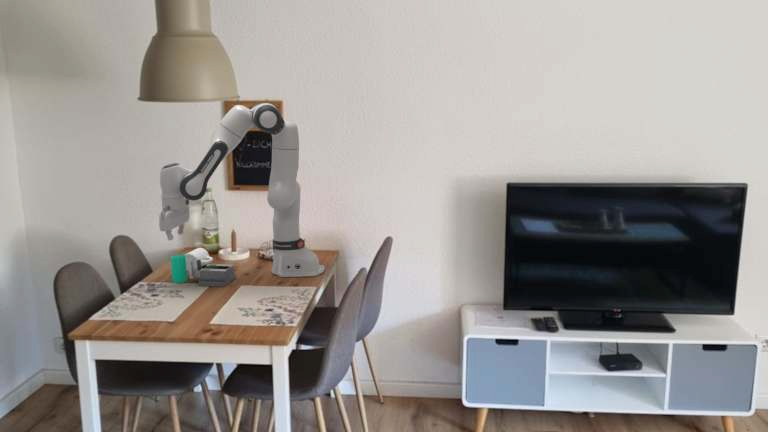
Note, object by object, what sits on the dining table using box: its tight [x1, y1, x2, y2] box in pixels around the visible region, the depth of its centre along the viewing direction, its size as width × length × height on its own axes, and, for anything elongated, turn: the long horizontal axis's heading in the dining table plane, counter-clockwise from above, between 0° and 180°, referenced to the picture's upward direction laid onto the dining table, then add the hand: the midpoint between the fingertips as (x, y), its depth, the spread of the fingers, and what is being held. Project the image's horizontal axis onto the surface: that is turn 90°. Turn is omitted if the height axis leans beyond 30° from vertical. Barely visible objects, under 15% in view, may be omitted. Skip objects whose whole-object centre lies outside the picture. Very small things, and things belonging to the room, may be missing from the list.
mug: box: [184, 247, 214, 272], centre depth 325 cm, size 12×10×8 cm
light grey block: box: [188, 258, 202, 280], centre depth 306 cm, size 9×6×7 cm, turn 80°
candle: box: [170, 252, 188, 284], centre depth 308 cm, size 6×6×12 cm
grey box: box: [198, 263, 237, 288], centre depth 305 cm, size 11×12×6 cm
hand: (175, 237), depth 305 cm, fingers open, 8 cm apart
